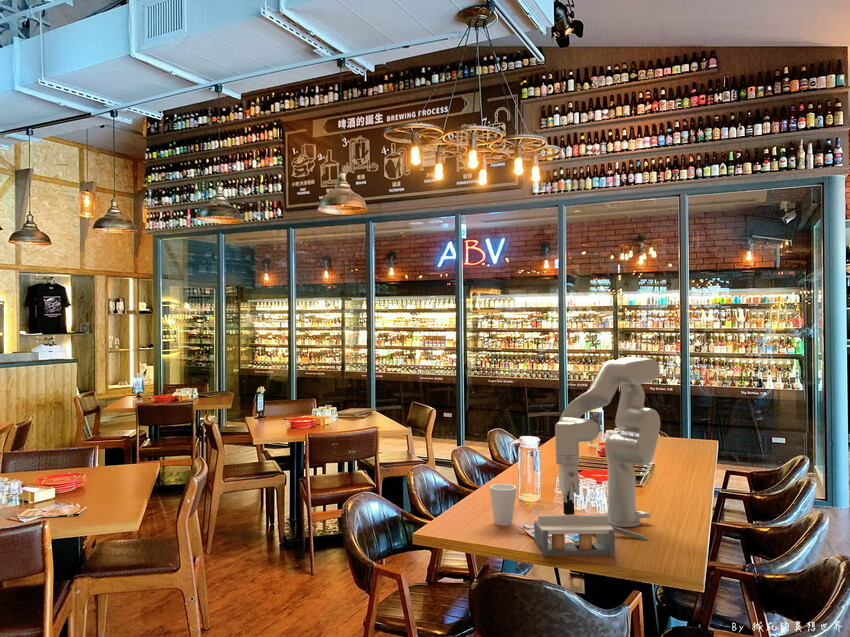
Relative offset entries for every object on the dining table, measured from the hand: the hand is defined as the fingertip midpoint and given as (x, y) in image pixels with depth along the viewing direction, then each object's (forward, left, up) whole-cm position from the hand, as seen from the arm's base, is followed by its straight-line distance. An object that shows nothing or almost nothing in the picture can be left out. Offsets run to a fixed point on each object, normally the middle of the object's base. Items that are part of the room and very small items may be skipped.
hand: (568, 513), depth 209 cm
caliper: (-17, -4, -9) cm, 20 cm away
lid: (+1, +11, -2) cm, 12 cm away
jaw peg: (-3, +12, -8) cm, 15 cm away
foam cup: (+20, -19, -9) cm, 28 cm away
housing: (+1, +8, -9) cm, 12 cm away
